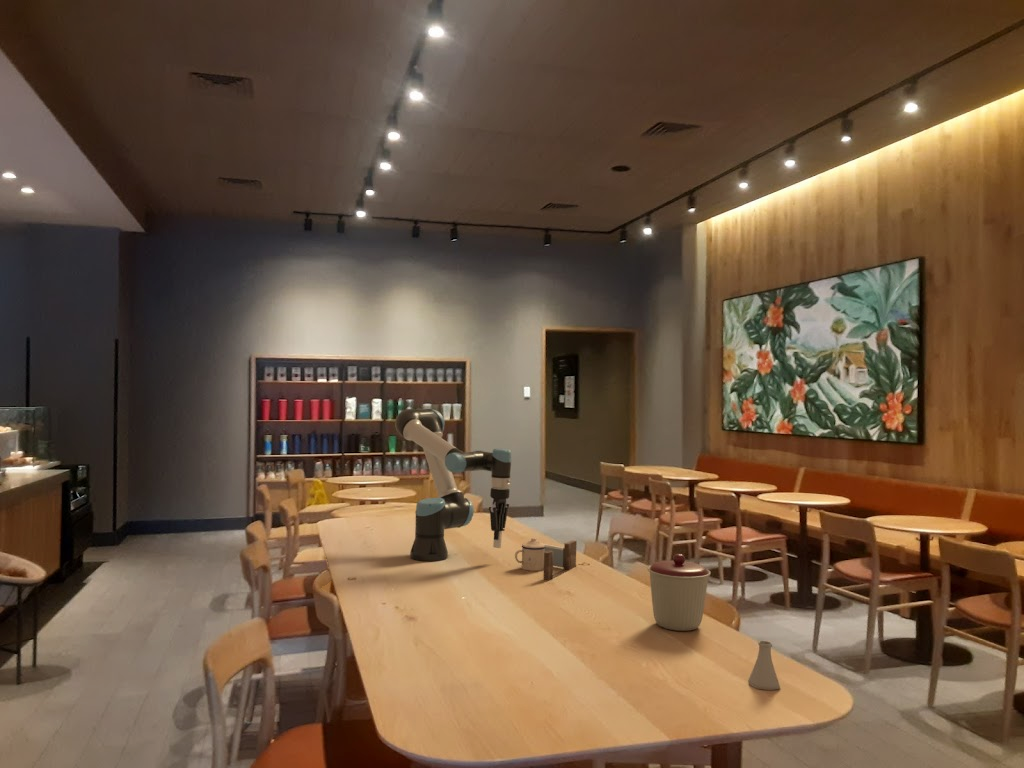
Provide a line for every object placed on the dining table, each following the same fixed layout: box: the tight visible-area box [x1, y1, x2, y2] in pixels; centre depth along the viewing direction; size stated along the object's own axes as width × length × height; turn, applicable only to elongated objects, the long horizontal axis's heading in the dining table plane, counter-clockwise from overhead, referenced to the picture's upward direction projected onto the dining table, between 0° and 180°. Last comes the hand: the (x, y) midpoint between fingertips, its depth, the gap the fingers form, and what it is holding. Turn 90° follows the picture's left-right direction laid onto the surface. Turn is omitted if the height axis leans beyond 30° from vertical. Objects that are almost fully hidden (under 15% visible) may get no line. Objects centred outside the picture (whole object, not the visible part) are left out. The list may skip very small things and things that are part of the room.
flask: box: [748, 639, 781, 691], centre depth 179 cm, size 7×7×10 cm
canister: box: [647, 553, 711, 632], centre depth 224 cm, size 18×18×21 cm
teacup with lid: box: [514, 537, 545, 572], centre depth 293 cm, size 12×9×12 cm
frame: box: [542, 540, 577, 581], centre depth 287 cm, size 2×28×10 cm, turn 154°
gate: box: [543, 543, 564, 569], centre depth 299 cm, size 14×1×8 cm, turn 50°
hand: (497, 547), depth 302 cm, fingers closed
